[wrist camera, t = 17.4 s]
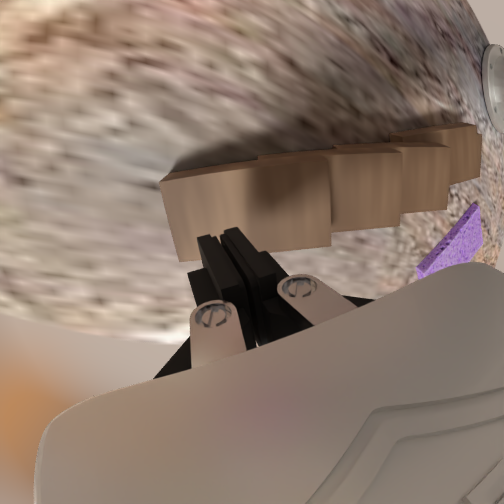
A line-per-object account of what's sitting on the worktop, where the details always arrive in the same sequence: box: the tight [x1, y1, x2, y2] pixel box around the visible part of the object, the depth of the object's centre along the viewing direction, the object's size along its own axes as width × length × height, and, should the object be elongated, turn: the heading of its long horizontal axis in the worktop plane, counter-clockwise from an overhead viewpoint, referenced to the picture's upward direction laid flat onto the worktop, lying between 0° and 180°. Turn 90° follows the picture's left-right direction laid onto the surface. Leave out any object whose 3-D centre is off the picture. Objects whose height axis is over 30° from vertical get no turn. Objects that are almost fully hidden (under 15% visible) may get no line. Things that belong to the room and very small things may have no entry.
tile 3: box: [333, 142, 451, 214], centre depth 20 cm, size 2×5×9 cm
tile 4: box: [258, 147, 403, 233], centre depth 18 cm, size 2×5×9 cm
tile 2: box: [389, 122, 479, 185], centre depth 21 cm, size 2×5×9 cm
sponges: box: [416, 203, 483, 279], centre depth 30 cm, size 7×13×2 cm, turn 125°
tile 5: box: [159, 154, 331, 262], centre depth 17 cm, size 2×5×9 cm
